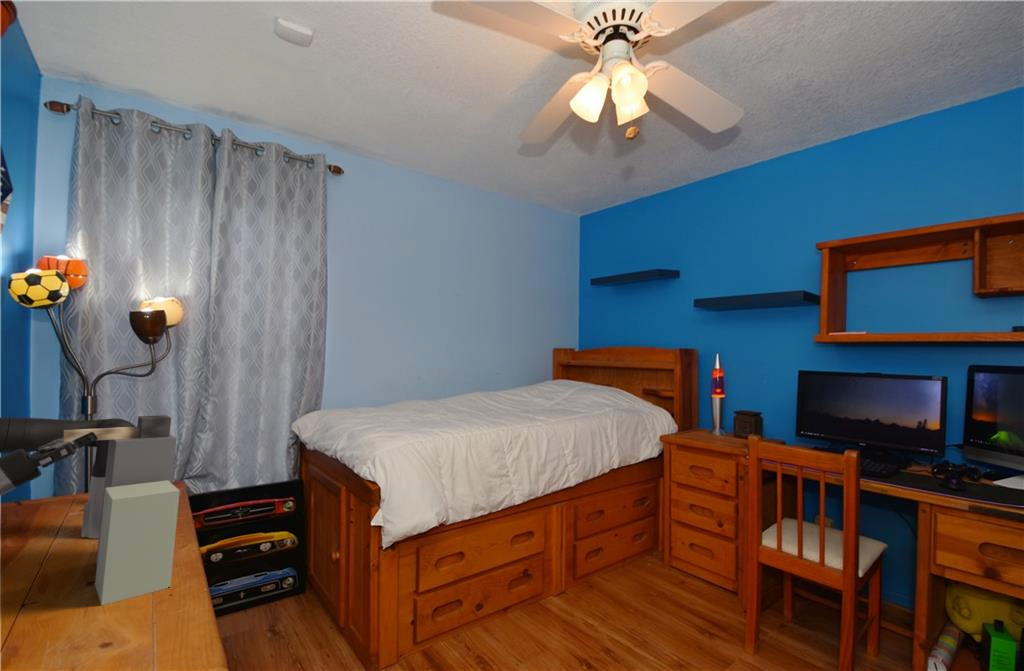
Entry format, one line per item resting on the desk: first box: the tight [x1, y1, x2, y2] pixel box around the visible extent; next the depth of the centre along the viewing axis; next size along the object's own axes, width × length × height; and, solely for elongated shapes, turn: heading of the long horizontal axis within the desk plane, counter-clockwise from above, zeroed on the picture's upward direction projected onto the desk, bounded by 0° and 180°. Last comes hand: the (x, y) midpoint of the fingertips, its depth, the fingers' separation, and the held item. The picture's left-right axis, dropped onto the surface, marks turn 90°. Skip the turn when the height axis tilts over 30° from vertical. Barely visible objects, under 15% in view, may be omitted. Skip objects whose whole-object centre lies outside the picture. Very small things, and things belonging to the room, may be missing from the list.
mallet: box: [63, 414, 172, 443], centre depth 116 cm, size 20×6×5 cm, turn 137°
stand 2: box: [94, 480, 181, 606], centre depth 107 cm, size 12×12×22 cm
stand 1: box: [95, 433, 177, 564], centre depth 118 cm, size 12×12×32 cm
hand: (93, 432), depth 113 cm, fingers open, 8 cm apart
